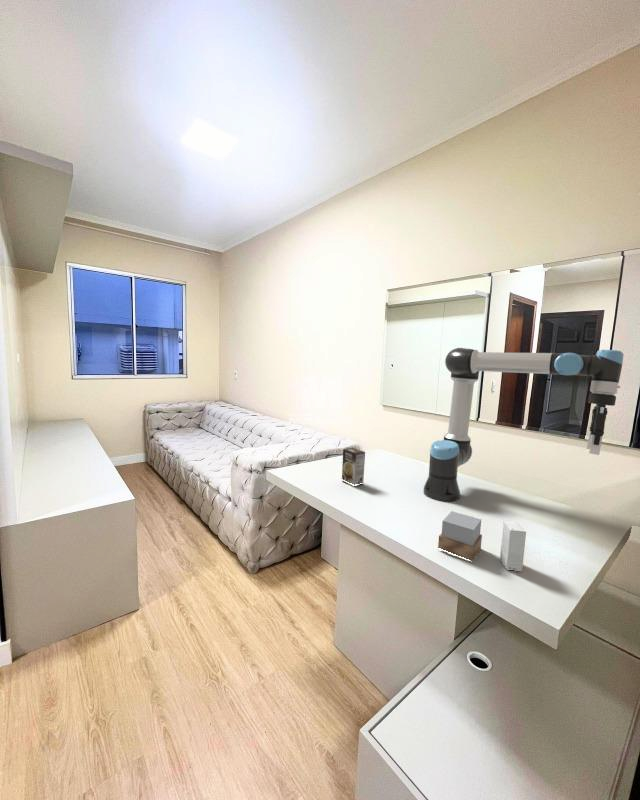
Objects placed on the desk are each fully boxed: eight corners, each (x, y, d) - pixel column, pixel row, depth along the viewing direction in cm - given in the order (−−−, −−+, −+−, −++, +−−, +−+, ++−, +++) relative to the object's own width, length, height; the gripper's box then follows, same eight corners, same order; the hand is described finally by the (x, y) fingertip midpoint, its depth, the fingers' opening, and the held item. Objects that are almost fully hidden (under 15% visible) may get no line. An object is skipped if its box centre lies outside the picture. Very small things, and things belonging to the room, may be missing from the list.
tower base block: (437, 551, 106) (438, 536, 105) (448, 539, 114) (449, 524, 113) (472, 563, 100) (473, 547, 99) (480, 549, 107) (482, 534, 107)
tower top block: (441, 536, 105) (442, 520, 105) (450, 525, 112) (451, 511, 112) (472, 546, 100) (473, 530, 99) (480, 534, 107) (481, 519, 106)
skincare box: (522, 573, 95) (526, 532, 94) (506, 570, 96) (510, 530, 95) (514, 560, 101) (518, 522, 100) (499, 558, 102) (503, 520, 101)
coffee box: (341, 481, 164) (342, 448, 163) (351, 479, 168) (352, 447, 166) (353, 487, 157) (355, 453, 155) (364, 484, 161) (365, 451, 159)
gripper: (621, 394, 110) (610, 458, 112) (612, 395, 131) (602, 449, 133) (592, 391, 115) (581, 453, 116) (587, 392, 135) (578, 445, 137)
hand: (592, 451), depth 124 cm, fingers open, 13 cm apart
